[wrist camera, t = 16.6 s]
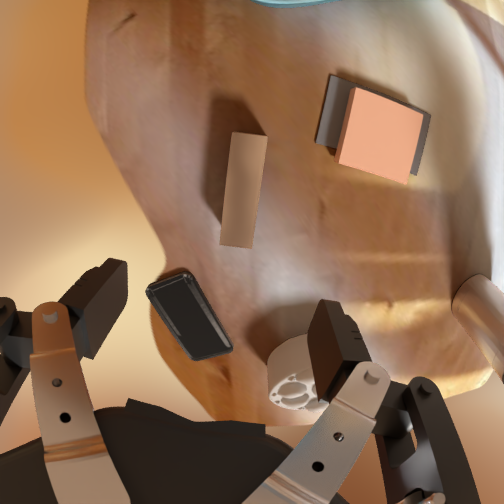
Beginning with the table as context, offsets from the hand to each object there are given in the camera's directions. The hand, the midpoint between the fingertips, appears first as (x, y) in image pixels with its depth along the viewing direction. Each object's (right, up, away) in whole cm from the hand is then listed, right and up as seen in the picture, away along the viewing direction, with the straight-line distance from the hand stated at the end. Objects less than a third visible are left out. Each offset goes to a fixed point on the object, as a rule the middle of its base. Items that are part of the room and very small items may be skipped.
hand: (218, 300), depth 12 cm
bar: (0, +10, +22) cm, 24 cm away
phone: (-8, -8, +31) cm, 33 cm away
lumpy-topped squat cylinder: (+10, -15, +33) cm, 38 cm away
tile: (+15, +11, +19) cm, 27 cm away
